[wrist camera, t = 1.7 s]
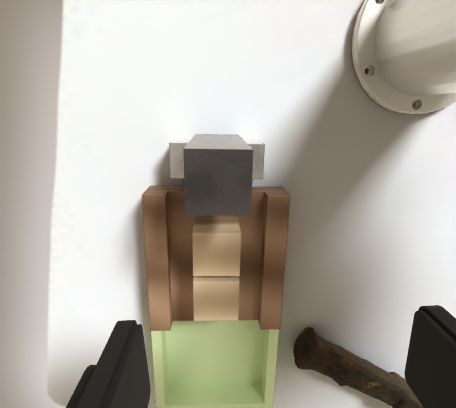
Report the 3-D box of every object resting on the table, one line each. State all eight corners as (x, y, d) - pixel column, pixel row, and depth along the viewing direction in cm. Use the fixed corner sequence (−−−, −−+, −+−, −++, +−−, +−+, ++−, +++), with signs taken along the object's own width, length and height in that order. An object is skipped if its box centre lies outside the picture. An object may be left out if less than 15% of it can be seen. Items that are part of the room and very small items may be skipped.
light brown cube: (195, 216, 29) (192, 232, 25) (237, 217, 29) (241, 232, 26) (195, 255, 30) (193, 276, 27) (236, 255, 31) (239, 275, 27)
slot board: (150, 185, 30) (142, 195, 27) (282, 186, 31) (290, 196, 28) (156, 309, 34) (150, 330, 31) (273, 308, 35) (279, 329, 31)
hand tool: (287, 345, 37) (297, 377, 32) (307, 320, 36) (320, 350, 31) (404, 406, 40) (427, 443, 36) (425, 385, 39) (451, 420, 35)
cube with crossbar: (174, 133, 29) (147, 148, 18) (259, 135, 29) (287, 150, 18) (175, 175, 30) (151, 215, 19) (257, 176, 31) (283, 215, 19)
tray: (156, 309, 34) (151, 328, 31) (273, 308, 35) (279, 327, 32) (160, 388, 37) (156, 412, 34) (268, 386, 38) (272, 410, 35)
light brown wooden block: (195, 260, 31) (193, 281, 27) (236, 260, 31) (239, 280, 27) (196, 295, 32) (193, 320, 28) (235, 295, 32) (238, 320, 28)
